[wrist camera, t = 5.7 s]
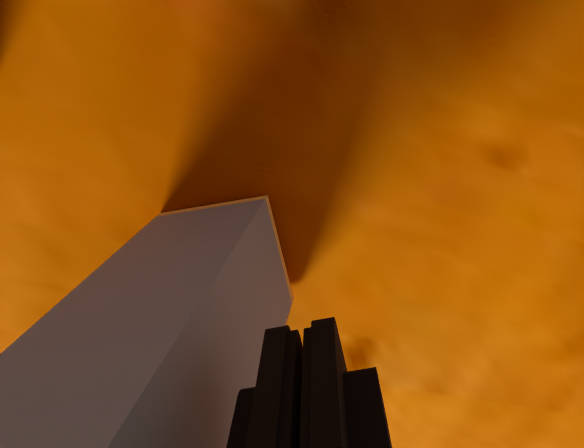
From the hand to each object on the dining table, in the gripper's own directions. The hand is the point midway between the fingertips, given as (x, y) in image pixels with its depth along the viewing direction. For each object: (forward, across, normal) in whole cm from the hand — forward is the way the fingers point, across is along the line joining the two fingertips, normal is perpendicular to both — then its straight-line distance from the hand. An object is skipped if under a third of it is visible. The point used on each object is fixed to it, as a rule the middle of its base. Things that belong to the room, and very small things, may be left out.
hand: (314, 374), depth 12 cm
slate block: (+8, +4, 0) cm, 9 cm away
